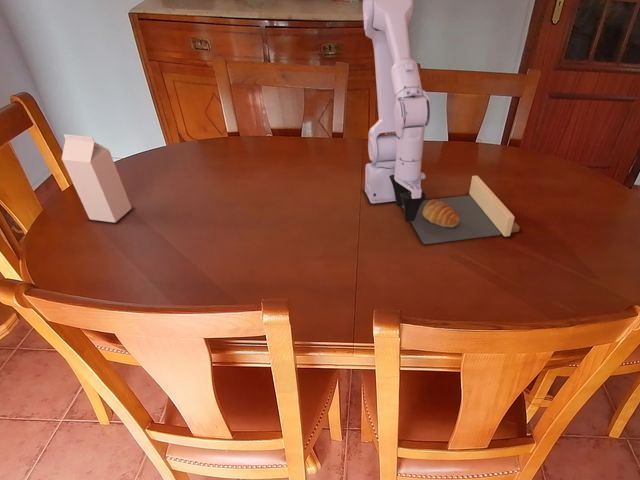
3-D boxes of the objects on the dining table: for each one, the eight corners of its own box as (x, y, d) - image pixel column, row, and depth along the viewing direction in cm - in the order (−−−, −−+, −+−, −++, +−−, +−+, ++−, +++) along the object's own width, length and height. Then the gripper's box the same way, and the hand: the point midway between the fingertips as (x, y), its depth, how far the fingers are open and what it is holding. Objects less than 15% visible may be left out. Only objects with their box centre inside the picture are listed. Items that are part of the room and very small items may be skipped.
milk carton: (115, 223, 112) (82, 143, 99) (89, 220, 113) (52, 140, 100) (132, 209, 117) (102, 131, 104) (106, 206, 118) (73, 128, 105)
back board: (504, 236, 110) (508, 217, 107) (469, 193, 125) (472, 175, 122) (521, 234, 111) (526, 215, 107) (484, 192, 126) (487, 174, 122)
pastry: (465, 222, 114) (467, 208, 112) (447, 232, 111) (449, 218, 108) (435, 208, 119) (437, 194, 116) (418, 218, 116) (419, 204, 113)
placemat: (423, 244, 107) (424, 244, 107) (399, 203, 121) (399, 202, 121) (501, 234, 111) (501, 234, 111) (469, 195, 124) (469, 195, 124)
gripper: (437, 168, 98) (430, 226, 108) (416, 142, 108) (412, 196, 117) (405, 171, 97) (401, 229, 106) (387, 144, 107) (385, 199, 116)
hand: (405, 212), depth 112 cm, fingers open, 7 cm apart
